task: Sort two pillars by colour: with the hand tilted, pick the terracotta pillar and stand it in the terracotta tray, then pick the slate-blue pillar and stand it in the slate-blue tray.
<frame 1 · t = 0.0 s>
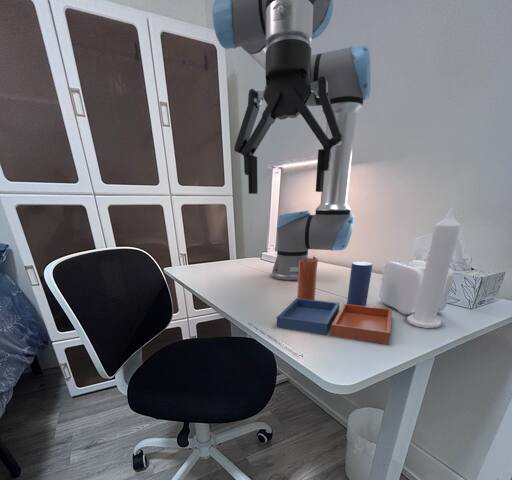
hand: (284, 193, 57), 28 cm above the table, tool pointing down, fingers open, 13 cm apart
blue pillar: (355, 308, 79), on the table
terracotta tray: (362, 326, 67), on the table
candle: (422, 323, 69), on the table
cable organizer: (408, 307, 79), on the table
blue tray: (309, 319, 72), on the table
terracotta pillar: (305, 302, 84), on the table
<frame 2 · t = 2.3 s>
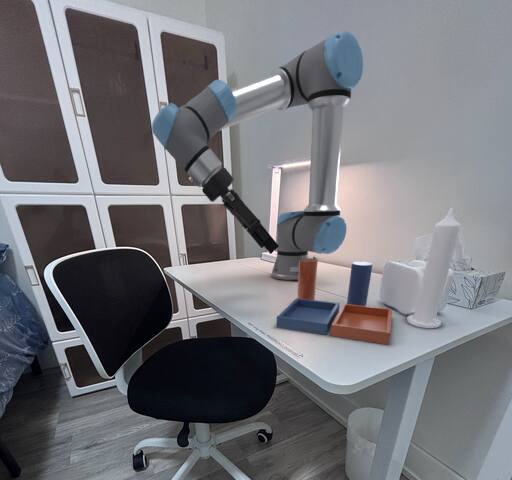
hand: (269, 247, 76), 16 cm above the table, tool tilted 40°, fingers open, 13 cm apart
nothing on the table moved.
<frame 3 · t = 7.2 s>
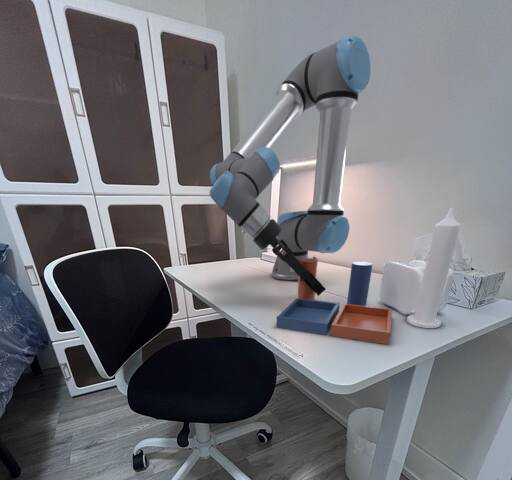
hand: (319, 289, 83), 4 cm above the table, tool tilted 45°, fingers closed on terracotta pillar, 5 cm apart
terracotta pillar: (305, 302, 84), on the table, touching gripper
everything else where it was.
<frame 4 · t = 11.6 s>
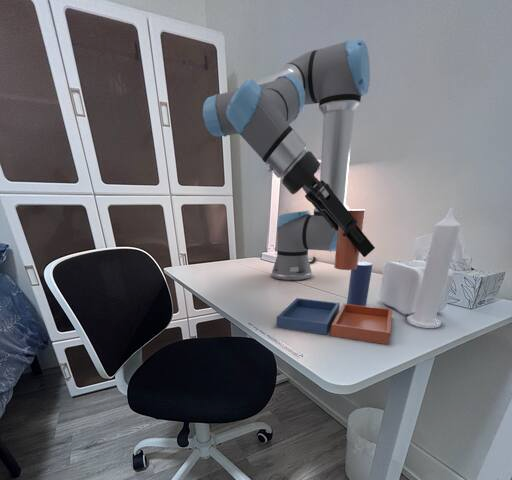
hand: (364, 250, 64), 16 cm above the table, tool tilted 45°, fingers closed on terracotta pillar, 5 cm apart
terracotta pillar: (345, 267, 66), point 13 cm above the table, touching gripper
everything else where it was.
when the fingers open (4 cm above the table, at t = 16.2 s): terracotta pillar stays where it is, resting on terracotta tray.
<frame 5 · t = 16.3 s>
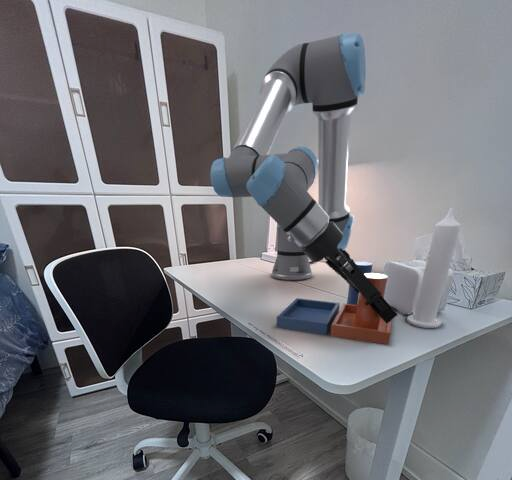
hand: (385, 313, 63), 4 cm above the table, tool tilted 45°, fingers open, 5 cm apart
terracotta pillar: (365, 329, 64), point 1 cm above the table, touching terracotta tray
everything else where it was.
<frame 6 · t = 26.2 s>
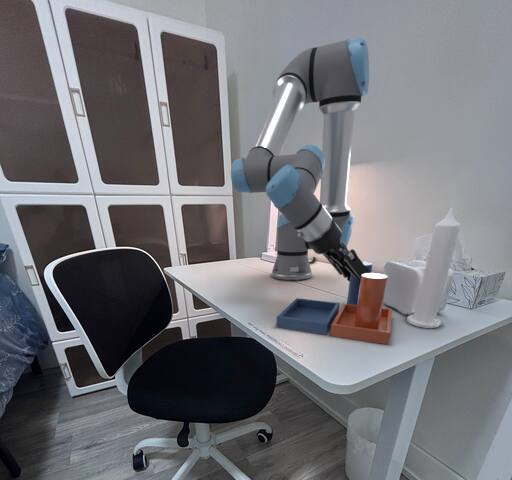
hand: (369, 293, 78), 4 cm above the table, tool tilted 45°, fingers closed on blue pillar, 5 cm apart
blue pillar: (355, 308, 79), on the table, touching gripper
everything else where it was.
when the fingers open (4 cm above the table, at t = 34.0 s): blue pillar stays where it is, resting on blue tray.
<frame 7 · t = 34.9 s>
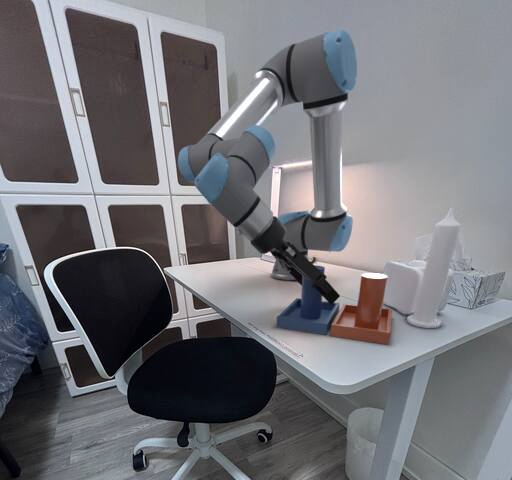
hand: (320, 292, 71), 6 cm above the table, tool tilted 45°, fingers open, 13 cm apart
blue pillar: (310, 315, 72), point 1 cm above the table, touching blue tray
everything else where it was.
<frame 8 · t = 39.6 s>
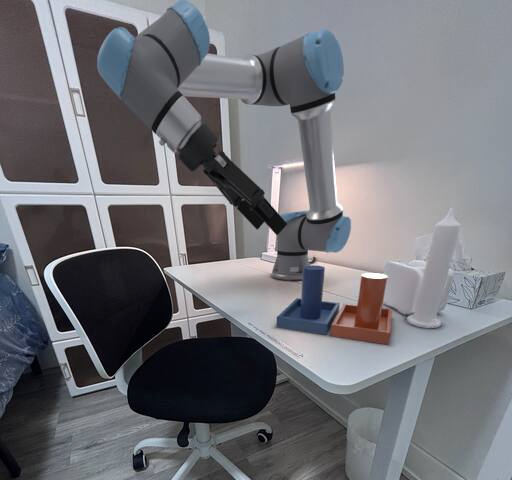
hand: (270, 227, 61), 22 cm above the table, tool tilted 45°, fingers open, 13 cm apart
nothing on the table moved.
at the end: terracotta pillar inside the target area in the terracotta tray (3.2 cm from its centre), point 0.6 cm above the terracotta tray's base; blue pillar inside the target area in the blue tray (0.9 cm from its centre), point 0.6 cm above the blue tray's base; terracotta pillar tilted 0° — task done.
